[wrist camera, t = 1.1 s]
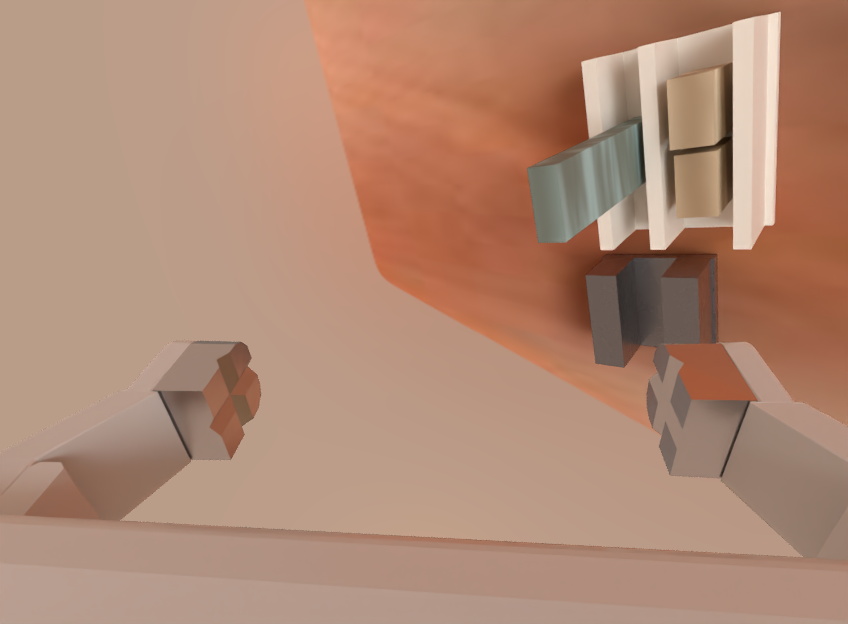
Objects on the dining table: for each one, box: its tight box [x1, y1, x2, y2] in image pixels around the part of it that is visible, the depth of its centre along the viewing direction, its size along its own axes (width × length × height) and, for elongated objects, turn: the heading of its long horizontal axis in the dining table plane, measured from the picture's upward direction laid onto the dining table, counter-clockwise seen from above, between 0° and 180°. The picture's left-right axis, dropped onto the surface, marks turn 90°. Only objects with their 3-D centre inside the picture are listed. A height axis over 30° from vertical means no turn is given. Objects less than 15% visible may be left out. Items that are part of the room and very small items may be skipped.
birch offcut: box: [674, 136, 733, 218], centre depth 41 cm, size 3×5×6 cm, turn 16°
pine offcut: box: [667, 62, 733, 150], centre depth 39 cm, size 3×5×7 cm, turn 16°
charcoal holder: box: [585, 254, 718, 368], centre depth 50 cm, size 10×10×6 cm
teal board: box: [527, 116, 646, 243], centre depth 39 cm, size 2×5×20 cm, turn 17°
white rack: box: [581, 12, 781, 250], centre depth 42 cm, size 13×16×7 cm
